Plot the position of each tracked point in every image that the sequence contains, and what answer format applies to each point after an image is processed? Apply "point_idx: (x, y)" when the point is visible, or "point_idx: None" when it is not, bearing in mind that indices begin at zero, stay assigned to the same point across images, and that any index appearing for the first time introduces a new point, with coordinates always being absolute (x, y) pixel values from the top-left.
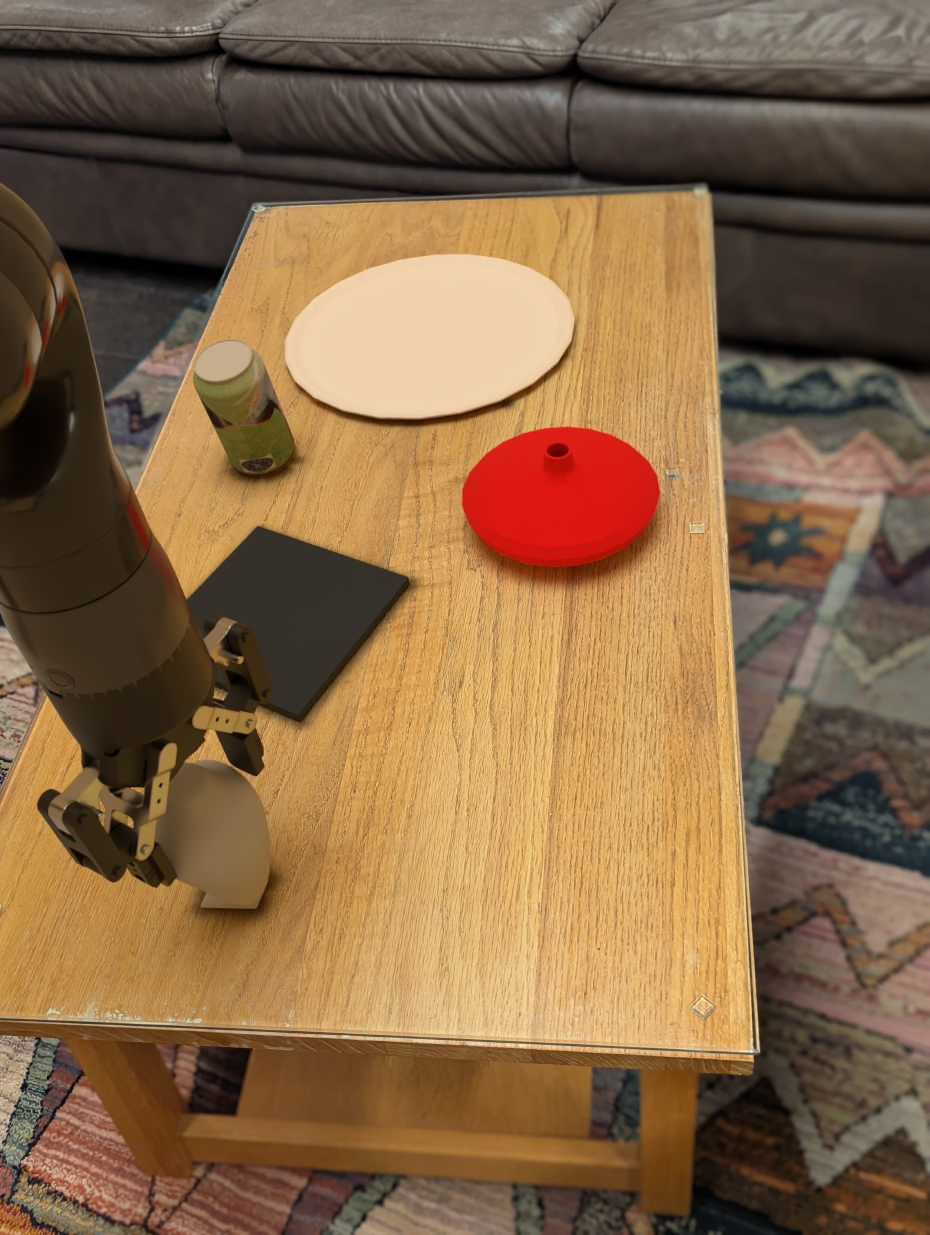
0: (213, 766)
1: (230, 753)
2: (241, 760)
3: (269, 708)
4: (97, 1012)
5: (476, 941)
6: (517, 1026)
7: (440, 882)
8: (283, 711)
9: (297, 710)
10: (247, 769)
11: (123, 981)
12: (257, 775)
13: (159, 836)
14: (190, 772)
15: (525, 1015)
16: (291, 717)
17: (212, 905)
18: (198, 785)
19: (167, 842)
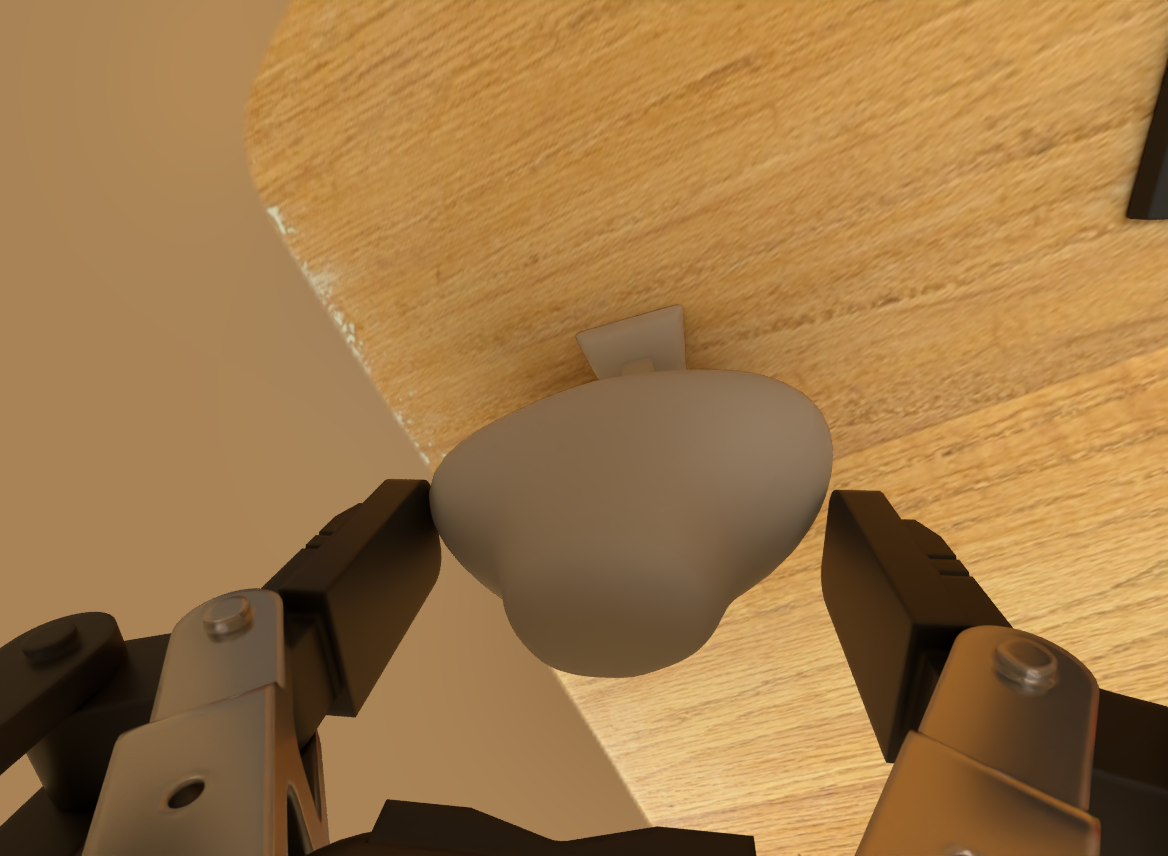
0: (779, 517)
1: (853, 551)
2: (842, 586)
3: (1159, 100)
4: (327, 296)
5: (740, 737)
6: (655, 807)
7: (812, 664)
8: (1154, 160)
9: (1166, 207)
10: (829, 567)
11: (391, 298)
12: (823, 591)
13: (463, 525)
14: (658, 635)
15: (673, 811)
16: (1136, 187)
17: (587, 358)
18: (630, 671)
19: (466, 552)
